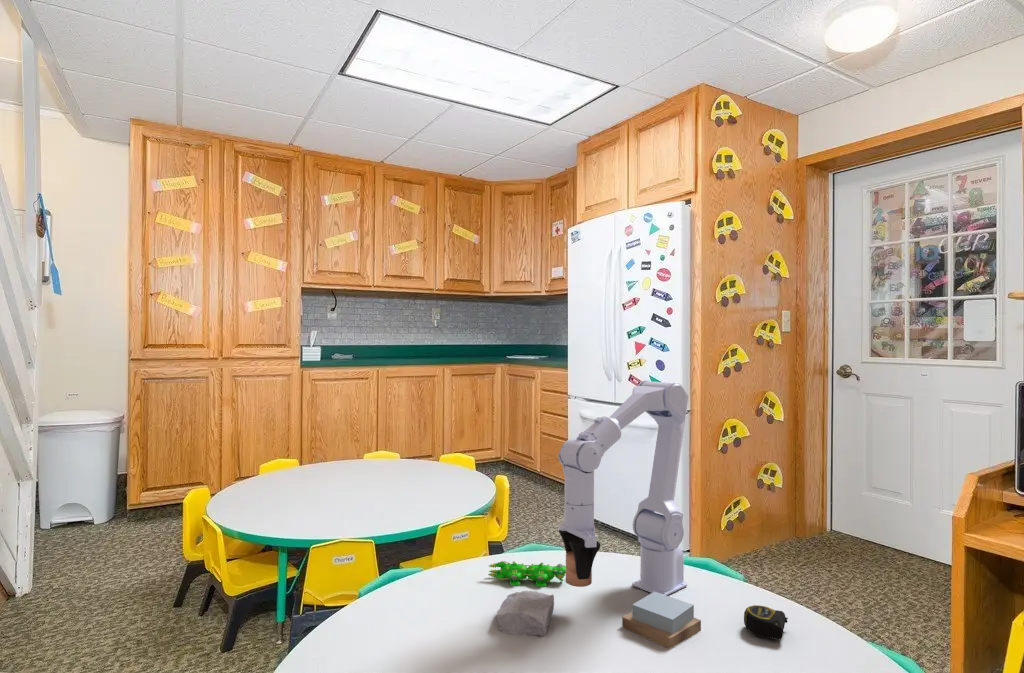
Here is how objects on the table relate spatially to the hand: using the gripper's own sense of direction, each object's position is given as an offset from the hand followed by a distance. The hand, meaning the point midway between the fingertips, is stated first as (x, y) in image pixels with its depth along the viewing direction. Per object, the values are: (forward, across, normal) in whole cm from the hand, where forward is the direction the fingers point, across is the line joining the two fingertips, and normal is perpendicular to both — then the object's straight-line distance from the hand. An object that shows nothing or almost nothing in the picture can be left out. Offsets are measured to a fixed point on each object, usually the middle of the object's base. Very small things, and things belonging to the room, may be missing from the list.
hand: (578, 572), depth 108 cm
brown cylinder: (+2, 0, 0) cm, 2 cm away
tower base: (+8, +9, +13) cm, 18 cm away
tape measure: (+8, +13, +32) cm, 35 cm away
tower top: (+6, +9, +13) cm, 17 cm away
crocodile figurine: (+8, -16, -6) cm, 19 cm away
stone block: (+8, +1, -11) cm, 14 cm away
